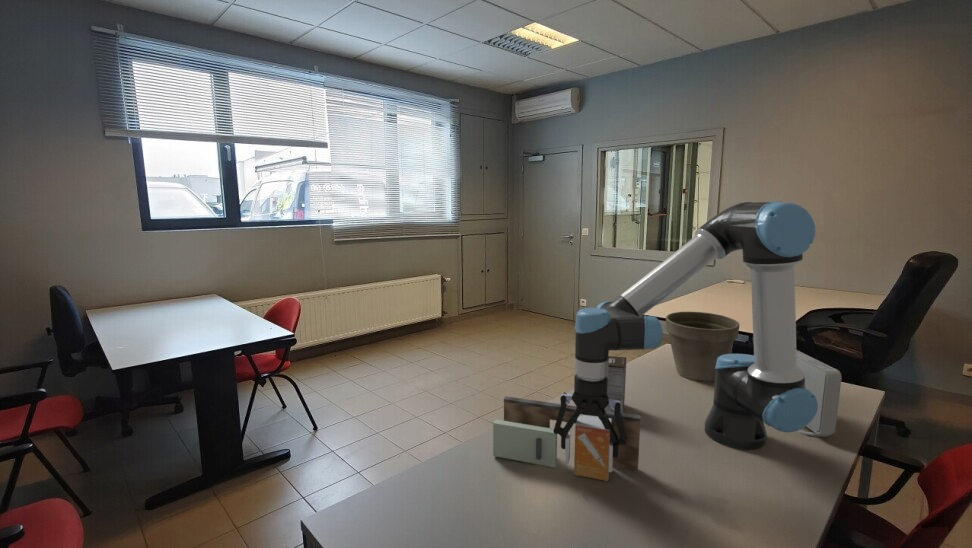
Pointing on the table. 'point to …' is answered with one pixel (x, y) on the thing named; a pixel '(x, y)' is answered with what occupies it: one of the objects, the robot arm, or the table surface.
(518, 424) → the sliding door
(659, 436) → the table surface
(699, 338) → the plant pot
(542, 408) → the wall frame
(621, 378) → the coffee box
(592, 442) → the small box
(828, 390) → the network device
